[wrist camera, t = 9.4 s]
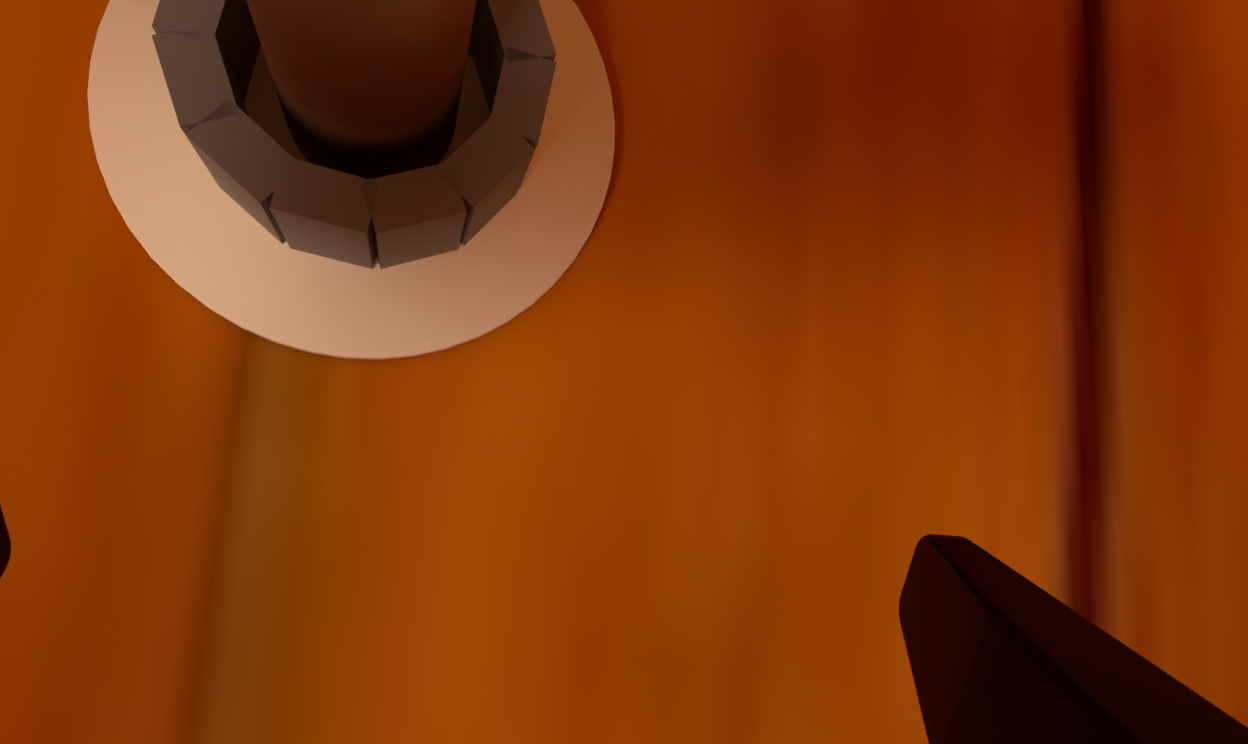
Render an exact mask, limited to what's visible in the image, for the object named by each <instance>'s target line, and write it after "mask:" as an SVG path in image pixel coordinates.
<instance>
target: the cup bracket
mask: <svg viewBox="0 0 1248 744" xmlns="http://www.w3.org/2000/svg"><path fill="white" fill-rule="evenodd" d="M88 107H89V121H90V130H91V135H92V139H93V144H94V148H95V153H96V157H97V162H98V165H99V167H100V170H101V172H102V175H103V177H104V180H105V183H106V185H107V188H108V190H109V193H110V196H111V197H112V199H113V201H114V203H115V205H116V206H117V208H118V210H119V212H120V213H121V215H122V217H123V219H124V221H125V222H126V224H127V226H128V228H129V229H130V230H131V232H132V233H133V234H134V236H135V237H136V238H137V239H138V241H139V242H140V243H141V245H142V246H143V247H144V249H145V250H146V251H147V253H148V254H149V255H150V257H151V258H152V259H153V260H154V261H155V262H156V263H157V264H158V265H159V266H160V267H161V268H162V269H163V270H164V271H165V272H166V273H167V274H168V275H169V276H170V277H171V278H172V279H173V280H174V281H175V282H176V283H177V284H179V285H180V286H181V287H182V288H183V289H185V290H186V291H187V292H189V293H190V294H191V295H192V296H194V297H195V298H196V299H198V300H199V301H200V302H202V303H203V304H204V305H205V306H207V307H208V308H209V309H211V310H212V311H213V312H215V313H217V314H218V315H220V316H222V317H224V318H225V319H227V320H229V321H230V322H232V323H234V324H235V325H237V326H239V327H241V328H242V329H244V330H246V331H249V332H251V333H253V334H256V335H258V336H260V337H263V338H265V339H267V340H270V341H272V342H274V343H277V344H280V345H283V346H287V347H290V348H294V349H297V350H301V351H304V352H307V353H311V354H317V355H323V356H329V357H336V358H342V359H356V360H390V359H401V358H412V357H418V356H422V355H427V354H431V353H436V352H441V351H445V350H448V349H451V348H454V347H457V346H460V345H462V344H465V343H468V342H471V341H474V340H476V339H478V338H480V337H482V336H484V335H486V334H488V333H490V332H492V331H494V330H496V329H498V328H500V327H502V326H504V325H505V324H507V323H508V322H510V321H511V320H512V319H514V318H515V317H517V316H518V315H520V314H521V313H522V312H524V311H525V310H527V309H528V308H530V307H531V306H532V305H533V304H534V303H535V302H536V301H537V300H538V299H539V298H540V297H542V296H543V295H544V294H545V293H546V292H547V291H548V290H549V289H550V288H551V287H552V286H553V285H554V284H555V283H556V281H557V280H558V279H559V278H560V276H561V275H562V274H563V273H564V272H565V270H566V269H567V268H568V267H569V266H570V264H571V263H572V262H573V261H574V259H575V258H576V256H577V255H578V253H579V252H580V250H581V248H582V247H583V245H584V243H585V242H586V240H587V239H588V237H589V235H590V234H591V232H592V229H593V227H594V225H595V223H596V220H597V218H598V216H599V213H600V211H601V209H602V207H603V203H604V200H605V196H606V193H607V189H608V186H609V182H610V179H611V172H612V164H613V157H614V150H615V118H614V110H613V102H612V94H611V89H610V85H609V81H608V77H607V73H606V69H605V65H604V62H603V59H602V57H601V54H600V52H599V49H598V47H597V44H596V42H595V39H594V37H593V34H592V32H591V30H590V29H589V27H588V25H587V23H586V21H585V19H584V17H583V16H582V14H581V12H580V10H579V8H578V7H577V5H576V4H575V2H574V1H573V0H476V5H475V11H474V17H473V23H472V29H471V35H470V41H469V48H468V54H467V60H466V66H465V72H464V78H463V84H462V90H461V96H460V102H459V108H458V114H457V120H456V126H455V132H454V136H453V139H452V142H451V144H450V147H449V149H448V151H447V152H446V154H445V156H444V157H443V159H442V160H441V161H440V162H439V164H438V165H434V166H429V167H425V168H420V169H416V170H411V171H407V172H402V173H398V174H393V175H389V176H384V177H380V178H375V179H371V180H370V179H366V178H362V177H359V176H355V175H352V174H348V173H344V172H341V171H337V170H333V169H330V168H326V167H322V166H319V165H315V164H312V163H310V162H309V161H308V160H307V159H306V158H305V157H304V155H303V154H302V153H301V152H300V150H299V149H298V147H297V146H296V144H295V142H294V141H293V138H292V136H291V134H290V132H289V129H288V126H287V123H286V120H285V117H284V114H283V111H282V108H281V105H280V101H279V98H278V95H277V92H276V89H275V86H274V83H273V80H272V77H271V74H270V71H269V68H268V65H267V62H266V59H265V55H264V52H263V49H262V46H261V43H260V40H259V37H258V34H257V31H256V28H255V25H254V22H253V19H252V16H251V13H250V9H249V6H248V3H247V0H110V2H109V4H108V6H107V9H106V11H105V13H104V16H103V18H102V21H101V23H100V25H99V28H98V32H97V36H96V40H95V44H94V48H93V52H92V56H91V60H90V72H89V83H88Z"/></svg>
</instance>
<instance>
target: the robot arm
mask: <svg viewBox="0 0 1248 744" xmlns="http://www.w3.org/2000/svg"><path fill="white" fill-rule="evenodd" d="M10 553H11V541H10V537H9V533H8V530H7V526H6V523H5V519H4V516H3V512H2V509H1V505H0V578H1V576H2V574H3V573H4V571H5V569H6V567H7V564H8V562H9V559H10ZM899 617H900V623H901V627H902V632H903V636H904V640H905V644H906V649H907V653H908V657H909V661H910V666H911V670H912V674H913V678H914V683H915V687H916V691H917V695H918V700H919V704H920V708H921V712H922V717H923V721H924V725H925V729H926V734H927V738H928V742H929V744H1248V728H1247V727H1246V726H1245V725H1243V724H1242V723H1240V722H1239V721H1237V720H1236V719H1234V718H1233V717H1231V716H1230V715H1228V714H1227V713H1225V712H1224V711H1222V710H1221V709H1219V708H1218V707H1216V706H1215V705H1213V704H1212V703H1210V702H1209V701H1207V700H1206V699H1204V698H1203V697H1201V696H1200V695H1198V694H1197V693H1196V692H1194V691H1193V690H1191V689H1190V688H1188V687H1187V686H1185V685H1184V684H1182V683H1181V682H1179V681H1178V680H1176V679H1175V678H1173V677H1172V676H1170V675H1169V674H1167V673H1166V672H1164V671H1163V670H1161V669H1160V668H1158V667H1157V666H1155V665H1154V664H1152V663H1151V662H1150V661H1148V660H1147V659H1145V658H1144V657H1142V656H1141V655H1139V654H1138V653H1136V652H1135V651H1133V650H1132V649H1130V648H1129V647H1127V646H1126V645H1124V644H1123V643H1121V642H1120V641H1118V640H1117V639H1115V638H1114V637H1112V636H1111V635H1109V634H1108V633H1106V632H1105V631H1104V630H1102V629H1101V628H1099V627H1098V626H1096V625H1095V624H1093V623H1092V622H1090V621H1089V620H1087V619H1086V618H1084V617H1083V616H1081V615H1080V614H1078V613H1077V612H1075V611H1074V610H1072V609H1071V608H1069V607H1068V606H1066V605H1065V604H1063V603H1062V602H1060V601H1059V600H1058V599H1056V598H1055V597H1053V596H1052V595H1050V594H1049V593H1047V592H1046V591H1044V590H1043V589H1041V588H1040V587H1038V586H1037V585H1035V584H1034V583H1032V582H1031V581H1029V580H1028V579H1026V578H1025V577H1023V576H1022V575H1020V574H1019V573H1017V572H1016V571H1015V570H1013V569H1012V568H1010V567H1009V566H1007V565H1006V564H1004V563H1003V562H1001V561H1000V560H998V559H997V558H995V557H994V556H992V555H991V554H989V553H988V552H986V551H985V550H983V549H982V548H980V547H979V546H977V545H976V544H974V543H973V542H972V541H970V540H968V539H967V538H964V537H961V536H949V535H933V534H928V535H926V536H924V537H922V538H921V539H920V540H919V542H918V543H917V546H916V548H915V551H914V554H913V557H912V561H911V564H910V567H909V570H908V573H907V577H906V580H905V583H904V586H903V589H902V592H901V596H900V602H899Z"/></svg>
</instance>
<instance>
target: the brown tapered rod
mask: <svg viewBox="0 0 1248 744" xmlns="http://www.w3.org/2000/svg"><path fill="white" fill-rule="evenodd" d="M247 3H248V6H249V9H250V13H251V16H252V19H253V22H254V25H255V28H256V31H257V34H258V37H259V40H260V43H261V46H262V49H263V52H264V55H265V59H266V62H267V65H268V68H269V71H270V74H271V77H272V80H273V83H274V86H275V89H276V92H277V95H278V98H279V101H280V105H281V108H282V111H283V114H284V117H285V120H286V123H287V126H288V129H289V132H290V134H291V136H292V138H293V141H294V142H295V144H296V146H297V147H298V149H299V150H300V152H301V153H302V154H303V155H304V157H305V158H306V159H307V160H308V161H309V162H310V163H312V164H315V165H319V166H322V167H326V168H330V169H333V170H337V171H341V172H344V173H348V174H352V175H355V176H359V177H362V178H366V179H370V180H371V179H375V178H380V177H384V176H389V175H393V174H398V173H402V172H407V171H411V170H416V169H420V168H425V167H429V166H434V165H438V164H439V162H440V161H441V160H442V159H443V157H444V156H445V154H446V152H447V151H448V149H449V147H450V144H451V142H452V139H453V136H454V132H455V126H456V120H457V114H458V108H459V102H460V96H461V90H462V84H463V78H464V72H465V66H466V60H467V54H468V48H469V41H470V35H471V29H472V23H473V17H474V11H475V5H476V0H247Z"/></svg>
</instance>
